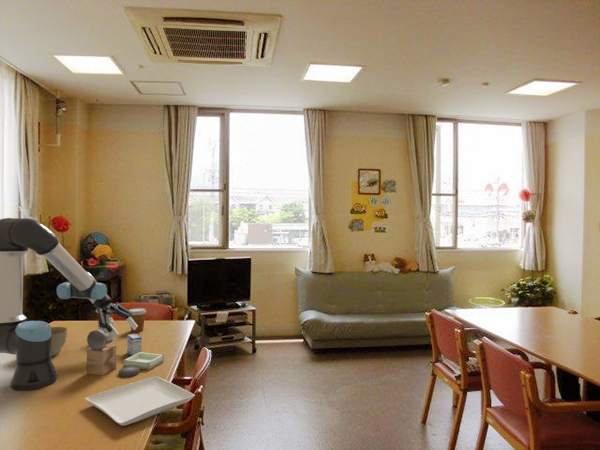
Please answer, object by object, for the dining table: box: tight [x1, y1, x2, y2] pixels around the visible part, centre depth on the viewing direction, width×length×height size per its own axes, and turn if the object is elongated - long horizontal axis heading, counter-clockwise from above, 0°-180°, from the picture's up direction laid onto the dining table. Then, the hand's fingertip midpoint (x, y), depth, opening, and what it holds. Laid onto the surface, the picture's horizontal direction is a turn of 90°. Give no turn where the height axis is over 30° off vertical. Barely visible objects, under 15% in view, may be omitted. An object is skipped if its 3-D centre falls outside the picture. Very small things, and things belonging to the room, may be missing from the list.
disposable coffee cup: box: [128, 307, 147, 333], centre depth 237 cm, size 10×10×12 cm
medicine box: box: [126, 333, 143, 357], centre depth 197 cm, size 8×4×9 cm, turn 40°
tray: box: [123, 351, 165, 371], centre depth 184 cm, size 11×13×3 cm
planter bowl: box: [50, 326, 69, 357], centre depth 196 cm, size 16×16×11 cm
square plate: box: [84, 375, 195, 427], centre depth 144 cm, size 27×27×4 cm
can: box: [97, 316, 115, 343], centre depth 217 cm, size 8×8×12 cm
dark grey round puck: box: [118, 367, 140, 378], centre depth 173 cm, size 8×8×2 cm
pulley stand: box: [86, 328, 117, 376], centre depth 175 cm, size 8×8×18 cm
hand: (126, 332), depth 198 cm, fingers open, 13 cm apart
